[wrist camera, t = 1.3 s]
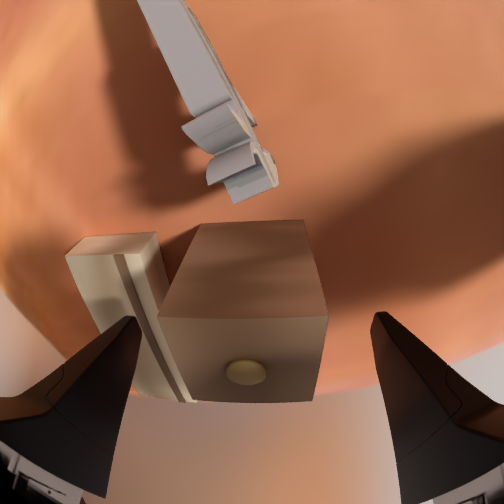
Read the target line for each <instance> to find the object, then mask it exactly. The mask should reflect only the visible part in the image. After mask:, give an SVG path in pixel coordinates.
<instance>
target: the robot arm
mask: <svg viewBox="0 0 504 504" xmlns="http://www.w3.org/2000/svg"><path fill="white" fill-rule="evenodd" d="M370 334H371V340H372V346H373V352H374V359H375V365H376V370H377V374H378V378H379V382H380V386H381V390H382V394H383V398H384V402H385V407H386V411H387V415H388V420H389V426H390V430H391V435H392V440H393V446H394V451H395V457H396V463H397V464H396V465H397V471H398V478H399V486H400V494H401V504H420V503H422V502H425V501H428V500H430V499H433V503H434V504H504V405H502V404H499V403H497V402H495V401H493V400H492V399H490V398H489V397H488V396H486V395H485V394H484V393H482V392H481V391H479V390H478V389H477V388H476V387H474V386H473V385H472V384H470V383H469V382H468V381H466V380H465V379H464V378H463V377H462V376H460V375H459V374H458V373H457V372H456V371H455V370H454V369H452V368H451V367H450V366H449V365H447V363H446V362H445V361H443V360H442V359H441V358H440V357H439V356H438V355H437V354H436V353H434V352H433V351H432V350H431V349H430V348H429V347H428V346H426V345H425V344H424V343H423V342H422V341H421V340H419V339H418V338H417V337H416V336H415V335H414V334H412V333H411V332H410V331H409V330H408V329H407V328H405V327H404V326H403V325H402V324H401V323H399V322H398V321H397V320H396V319H395V318H394V317H392V316H391V315H390V314H389V313H387V312H385V311H383V312H376V313H375V315H374V318H373V322H372V325H371V329H370ZM141 340H142V330H141V327H140V325H139V323H138V321H137V318H136V317H135V316H130V315H126V316H124V317H122V318H121V319H120V320H119V321H117V322H116V323H115V324H113V325H112V326H111V327H109V328H108V329H107V330H106V331H104V332H103V333H102V334H100V335H99V336H98V337H97V338H95V339H94V340H93V341H91V342H90V343H89V344H88V345H86V346H85V347H84V348H82V349H81V350H80V351H79V352H77V353H76V354H75V355H74V356H72V357H71V358H70V359H69V360H67V361H66V362H65V363H64V364H62V365H61V366H60V367H59V368H57V369H56V370H55V371H53V372H52V373H51V374H50V375H48V376H47V377H45V378H44V379H43V380H41V381H40V382H38V383H37V384H35V385H34V386H32V387H31V388H29V389H28V390H26V391H25V392H23V393H22V394H20V395H18V396H15V397H0V504H86V503H85V501H84V499H83V498H82V497H81V496H82V492H83V490H85V491H87V492H90V493H92V494H95V495H97V496H99V497H102V498H106V493H107V487H108V481H109V476H110V471H111V466H112V461H113V455H114V451H115V446H116V441H117V437H118V433H119V429H120V425H121V421H122V417H123V413H124V409H125V405H126V402H127V398H128V394H129V391H130V387H131V384H132V380H133V377H134V373H135V370H136V365H137V360H138V355H139V350H140V345H141Z"/></svg>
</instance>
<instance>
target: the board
mask: <svg viewBox="0 0 504 504" xmlns="http://www.w3.org/2000/svg"><path fill="white" fill-rule="evenodd" d="M65 259H66V261H67V264H68V266H69V269H70V271H71V274H72V276H73V278H74V281H75V283H76V285H77V287H78V289H79V292H80V294H81V296H82V298H83V300H84V302H85V304H86V306H87V308H88V310H89V312H90V314H91V316H92V318H93V320H94V322H95V324H96V326H97V328H98V329H99V331H100V333H101V334H102V333H103V332H104V331H106V330H107V329H108V328H109V327H111V326H112V325H113V324H115V323H116V322H117V321H119V320H120V319H121V318H122V317H124V316H126V315H130V316H135V317H136V318H137V321H138V323H139V325H140V327H141V330H142V340H141V345H140V350H139V355H138V360H137V365H136V370H135V373H134V377H133V380H132V385H133V386H134V388H135V389H136V390H137V392H138V393H139V395H143V396H149V397H155V398H162V399H169V400H177V401H179V402H184V403H185V402H195V403H196V402H197V400H192V398H191V396H190V394H189V392H188V389H187V387H186V385H185V383H184V381H183V379H182V377H181V375H180V372H179V370H178V368H177V366H176V363H175V361H174V359H173V356H172V354H171V352H170V349H169V347H168V345H167V342H166V340H165V337H164V335H163V332H162V330H161V327H160V325H159V322H158V319H157V315H158V313H159V310H160V308H161V306H162V304H163V301H164V299H165V297H166V295H167V293H168V290H169V288H170V284H169V281H168V277H167V273H166V270H165V266H164V262H163V258H162V255H161V251H160V247H159V242H158V238H157V234H156V232H146V233H131V234H117V235H104V236H92V237H84V238H83V239H82V240H81V241H80V242H79V243H78V244H77V245H75V246H74V247H73V248H72V249H71V250H70V251H69V252H68V253H67V254H66V255H65Z"/></svg>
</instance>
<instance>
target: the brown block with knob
mask: <svg viewBox="0 0 504 504" xmlns="http://www.w3.org/2000/svg"><path fill="white" fill-rule="evenodd" d="M328 318H329V314H328V310H327V306H326V302H325V298H324V294H323V290H322V286H321V282H320V278H319V274H318V271H317V267H316V263H315V259H314V256H313V252H312V249H311V245H310V242H309V238H308V235H307V231H306V228H305V224H304V221H303V220H275V221H248V222H225V223H205V224H201V225H200V226H199V228H198V230H197V232H196V234H195V236H194V238H193V240H192V242H191V244H190V246H189V248H188V250H187V252H186V254H185V257H184V259H183V261H182V263H181V265H180V267H179V269H178V271H177V273H176V275H175V277H174V280H173V282H172V284H171V286H170V288H169V290H168V293H167V295H166V297H165V299H164V301H163V304H162V306H161V308H160V310H159V313H158V315H157V319H158V322H159V325H160V327H161V330H162V332H163V335H164V337H165V340H166V342H167V345H168V347H169V349H170V352H171V354H172V356H173V359H174V361H175V363H176V366H177V368H178V370H179V372H180V375H181V377H182V379H183V381H184V383H185V385H186V387H187V389H188V392H189V394H190V396H191V398H192V400H202V401H215V402H236V403H283V402H303V401H312V399H313V395H314V391H315V387H316V382H317V377H318V373H319V368H320V363H321V358H322V352H323V347H324V342H325V336H326V330H327V324H328Z"/></svg>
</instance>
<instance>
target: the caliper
mask: <svg viewBox="0 0 504 504" xmlns="http://www.w3.org/2000/svg"><path fill="white" fill-rule="evenodd" d="M137 1H138V4H139V6H140V8H141V10H142V12H143V14H144V16H145V18H146V21H147V23H148V25H149V27H150V29H151V31H152V33H153V36H154V38H155V40H156V42H157V44H158V46H159V48H160V51H161V53H162V55H163V57H164V59H165V61H166V63H167V65H168V68H169V70H170V72H171V74H172V76H173V78H174V80H175V83H176V85H177V87H178V89H179V91H180V93H181V95H182V98H183V100H184V102H185V104H186V106H187V108H188V110H189V112H190V113H191V115H192V116H193V117H197V118H195V119H194V120H192V121H190V122H188V123H186V124H185V125H183V126H182V130H183V131H184V132H185V133H186V135H187V136H188V137H189V138H191V139H192V140H193V141H194V142H195V143H196V144H197V145H198V146H199V147H200V148H201V149H202V150H204V151H205V152H207V153H209V154H214V155H215V158H213V159H211V160H210V161H209V164H208V166H207V169H206V180H207V183H208V186H209V185H213V184H217V183H221V182H223V183H224V185H225V187H226V189H227V191H228V193H229V195H230V197H231V199H232V201H233V203H234V204H236V203H238V202H241V201H243V200H246V199H248V198H250V197H253V196H255V195H257V194H260V193H262V192H264V191H267V190H269V189H272V188H274V187H277V186H279V182H278V175H277V168H276V165H275V162H274V160H273V157H272V155H271V154H270V153H269V152H267V151H266V150H265V149H263V148H262V147H261V146H260V144H259V142H258V140H257V137H256V135H255V133H254V131H253V129H252V127H254V126H256V125H257V124H256V122H255V120H254V118H253V116H252V114H251V112H250V111H249V109H248V107H247V106H246V104H245V103H244V101H243V100H242V98H241V97H240V95H239V94H238V92H237V91H236V89H235V88H234V86H233V85H232V83H231V82H230V80H229V78H228V76H227V75H226V73H225V71H224V69H223V67H222V65H221V62H220V60H219V58H218V56H217V54H216V52H215V50H214V48H213V46H212V45H211V43H210V41H209V39H208V38H207V36H206V34H205V33H204V31H203V29H202V27H201V25H200V23H199V21H198V20H197V18H196V17H195V15H194V14H193V13H192V11H191V10H190V9H189V8H188V6H187V4H186V3H185V1H184V0H137Z"/></svg>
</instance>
